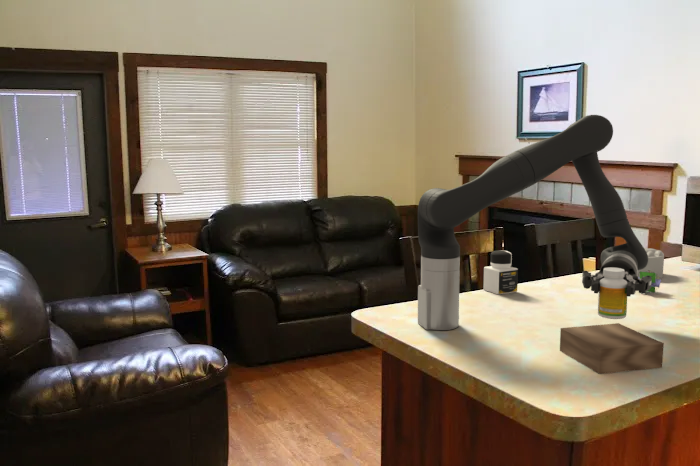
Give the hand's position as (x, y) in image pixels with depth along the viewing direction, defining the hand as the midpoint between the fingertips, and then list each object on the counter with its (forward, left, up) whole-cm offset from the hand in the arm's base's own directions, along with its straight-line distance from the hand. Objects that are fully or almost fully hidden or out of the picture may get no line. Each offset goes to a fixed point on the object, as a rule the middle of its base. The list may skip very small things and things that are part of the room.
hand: (612, 289), depth 126 cm
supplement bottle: (+2, +2, -6) cm, 7 cm away
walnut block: (+1, +2, -15) cm, 15 cm away
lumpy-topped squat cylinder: (+61, +68, -15) cm, 93 cm away
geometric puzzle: (+46, +48, -15) cm, 68 cm away
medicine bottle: (+6, +61, -15) cm, 63 cm away
